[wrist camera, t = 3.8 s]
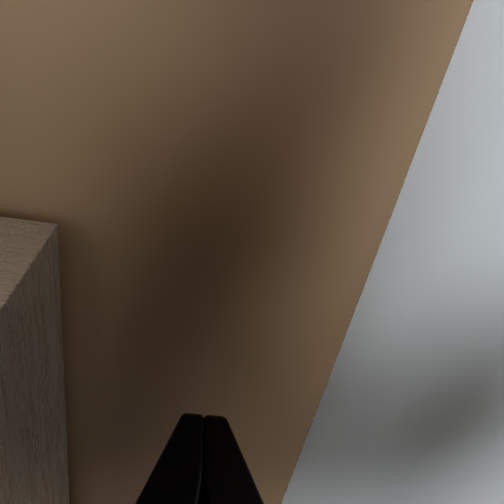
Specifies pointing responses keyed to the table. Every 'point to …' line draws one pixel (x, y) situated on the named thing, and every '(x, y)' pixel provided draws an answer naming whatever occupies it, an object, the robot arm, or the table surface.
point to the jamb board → (209, 204)
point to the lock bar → (31, 366)
